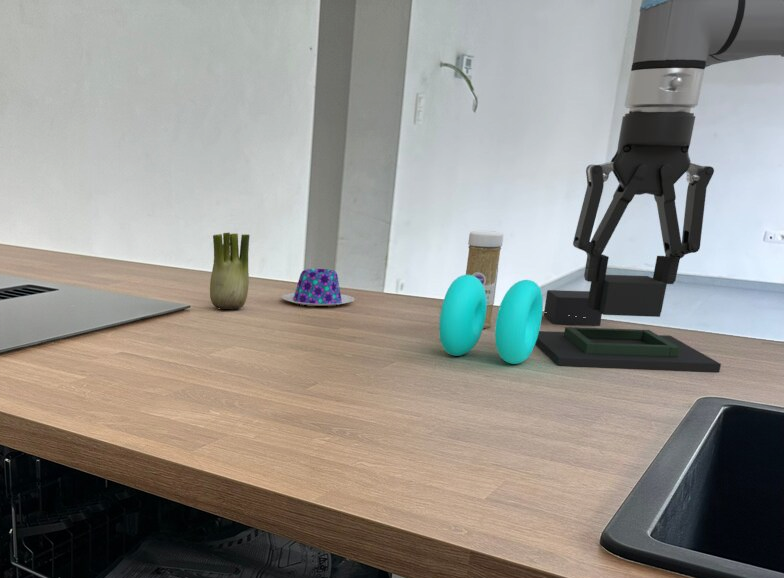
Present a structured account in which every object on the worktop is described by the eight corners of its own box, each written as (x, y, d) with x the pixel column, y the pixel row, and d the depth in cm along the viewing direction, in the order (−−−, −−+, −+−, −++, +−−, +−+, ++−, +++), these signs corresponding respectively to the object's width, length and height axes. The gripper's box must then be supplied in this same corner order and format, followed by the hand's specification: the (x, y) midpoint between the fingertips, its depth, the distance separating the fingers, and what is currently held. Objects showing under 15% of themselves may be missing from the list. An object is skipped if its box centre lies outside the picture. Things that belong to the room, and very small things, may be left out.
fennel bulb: (248, 307, 139) (251, 231, 135) (244, 313, 134) (246, 234, 130) (213, 305, 140) (215, 230, 136) (207, 311, 136) (208, 233, 132)
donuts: (459, 346, 113) (468, 269, 109) (538, 357, 107) (550, 276, 104) (431, 361, 105) (440, 278, 102) (515, 373, 99) (527, 286, 96)
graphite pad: (587, 317, 132) (591, 291, 131) (600, 325, 126) (604, 298, 125) (543, 315, 133) (547, 290, 132) (553, 324, 127) (557, 297, 126)
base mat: (668, 342, 115) (672, 326, 115) (719, 372, 100) (723, 353, 100) (528, 337, 118) (531, 321, 117) (557, 365, 103) (560, 347, 102)
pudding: (365, 307, 139) (367, 275, 137) (294, 310, 137) (295, 276, 135) (339, 295, 150) (340, 265, 148) (272, 297, 148) (274, 266, 146)
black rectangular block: (641, 307, 110) (647, 275, 109) (660, 316, 104) (666, 283, 102) (588, 305, 111) (593, 274, 109) (603, 315, 105) (609, 281, 103)
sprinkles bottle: (459, 328, 124) (470, 232, 119) (458, 322, 128) (469, 229, 123) (492, 330, 123) (505, 233, 118) (491, 324, 127) (502, 230, 122)
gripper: (580, 109, 97) (549, 311, 105) (765, 110, 95) (719, 317, 102) (563, 111, 104) (535, 301, 112) (735, 112, 102) (694, 306, 109)
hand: (623, 308), depth 107 cm, fingers closed on black rectangular block, 6 cm apart
